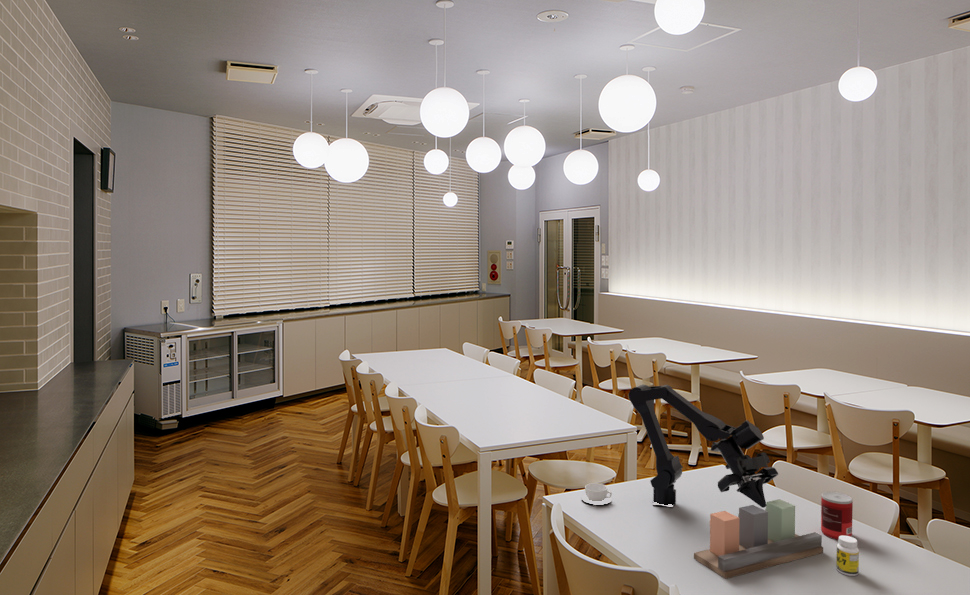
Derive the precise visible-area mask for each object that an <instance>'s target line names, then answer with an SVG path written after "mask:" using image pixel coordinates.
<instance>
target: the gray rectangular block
mask: <svg viewBox="0 0 970 595" xmlns="http://www.w3.org/2000/svg"><path fill="white" fill-rule="evenodd" d="M737 517H739V545H741V546H743V547H745V548H747V549H749V548H753V547H757V546H761V545H765V544H768V511H765V509H764V508H763V509H762V507H760V506H756V505H755V504H749V505H746V506H742V507H739V508H738V514H737Z"/></svg>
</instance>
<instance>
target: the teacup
mask: <svg viewBox="0 0 970 595" xmlns="http://www.w3.org/2000/svg"><path fill="white" fill-rule="evenodd" d="M584 491H585V492H584V493H585V495H586V496H587V497H588V499H589V500H592V501H602V500H604V499H606V498H610V499H611V498H612V492H611V491H610V490H608V486H606V484H603V483H597V482H595V483H594V482H593V483H592V482H591V483H588V484H586V485H585V486H584ZM608 494H609V496H607V495H608Z"/></svg>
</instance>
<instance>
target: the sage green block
mask: <svg viewBox="0 0 970 595" xmlns="http://www.w3.org/2000/svg"><path fill="white" fill-rule="evenodd" d="M764 510H765V511H768V539H770V540H772V541H774V542H777V541H781V540H785V539H789V538H794V537H795V534H796V505H795V504H792V503H790V502H787V501H785V500H782V499H774V500H770V501H769V500H768V501H766V507H765V509H764Z"/></svg>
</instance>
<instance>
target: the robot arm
mask: <svg viewBox="0 0 970 595" xmlns="http://www.w3.org/2000/svg"><path fill="white" fill-rule="evenodd" d="M628 399H629V401H630V403H631V405H632V406H633V408H634V409H635V410H636V411H637V413H638V414H639V416H640V417H641V420H642V422H643V426H644V428H645V430H646V434H647V437H648V439H649V441H650V444H651V446H652V450H653V452H654V455H655V468H656V474H657V475H655V476H654V477H653V478H651V479H650V481H649V482H650V484H651V487H652V489H653V493H652V494H653V497H652V498H653V501H654V502H657V503H659V504H664V505H668V504H672V505H673V504H675V505H676V503H677V489H675V484H676V482H677V480H678V479H680V478H681V476H682V474H683V468H684V466H683V465H682V463H681V461H680V457H679V455H676V456H674V455H673V454H672V452H671V451H670V449H669V446H668V444H667V441H666V438H665V435H664V432H663V430H662V428H661V425H660V422H659V419H658V417H657V414H656V412H655V400H663V401H664V402H666V403H667V404H669V405H670V406H671V407H672V408H673V409H674V410H677V412H678V413H680V414H681V415H682V416H684V418H687V420H689V421H690V422H692V423H693V425H694V426H695V428H696V429H697V431H698V432H699V433H700V435H702V437H703V438H705V440H707V441H710V442H712V445H711V448H710V451H711V452H717V453H718V452H720V454H721V456H722V458H723V460H724V461H725V463H726V465H725V468H726V470H730V471H731V472H732V473H729V474H725V475H724V476H723V477H722V478H720V479H719V481H717V488H718V490H719V492H720V493H724V492H725V493H726V492H729V490H730V486H735V485H737V487H738V488H737V489H736V492H737V493H740V494H742V495H744V496H745V497H747V498H748V499H750V500H751V501H753V502H754V503H755V504H757V505H758V507H760V508H761V509H762V508H763V509H764V508H766V502H767V501H766V498H765V497H766V496H765V492H764V486H763V485H765V484H768V483H770V482H771V481H772V480H773V479H775V478H776V477H777V476H778V475H779V472H778V471H777V468H775V467H773V466H768V464H770V463H771V461H770V457H769V456H768V455H767V453H766V452H759V453H757V454H756V456H755V457H751V456H750V455H749V454H744V451H743V450H742V449H745V450H749V449H751V448H752V447H754V446H755V445H757V444H759V443H760V442H762V441H763V440H764V435H763V433H762V431H761V430H760V428H759V427H757V426H756V425H755V424H754V423H752V422H750V421H749V420H748V419H746V420H745V421H744V422H742V424H740V425H739V426H737V427H735V426H732V425H729V424H726V423H725V422H724V421H723V420H721V419H719V418H718V417H716V416H715V415H713V414H709V413H707V412H704V411H703V410H701V409H699V408H698V407H697V406H696V405H694V404H693V403H691V402H690V401H689V400H688V399H687V398H685V397H684V396H682V395H681V394H680V393H679V392H677V391H676V390H674V389H673V387H671V385H669V384H664V385H653V386H651V385H650V386H648V385H647V384H639V385H637V386H635V387H633V388H631V389H630V390H629V392H628ZM719 439H720V440H719ZM716 441H717V442H716ZM653 501H652V502H653Z"/></svg>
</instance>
